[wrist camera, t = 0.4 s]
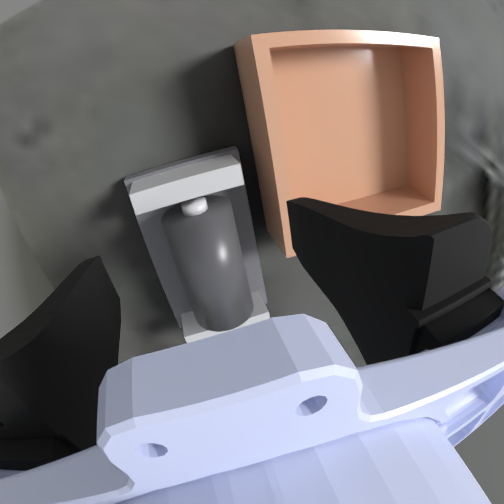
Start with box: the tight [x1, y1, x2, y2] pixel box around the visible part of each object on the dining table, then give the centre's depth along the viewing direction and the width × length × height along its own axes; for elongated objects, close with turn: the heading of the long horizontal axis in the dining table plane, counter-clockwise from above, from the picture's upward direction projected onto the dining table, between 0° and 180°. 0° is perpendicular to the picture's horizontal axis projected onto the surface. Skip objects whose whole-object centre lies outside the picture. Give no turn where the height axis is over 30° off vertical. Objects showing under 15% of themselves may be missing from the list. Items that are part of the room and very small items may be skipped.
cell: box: [161, 195, 254, 332], centre depth 19 cm, size 8×4×4 cm, turn 10°
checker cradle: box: [124, 146, 270, 343], centre depth 21 cm, size 12×7×4 cm, turn 10°
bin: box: [233, 30, 445, 258], centre depth 19 cm, size 13×13×4 cm
